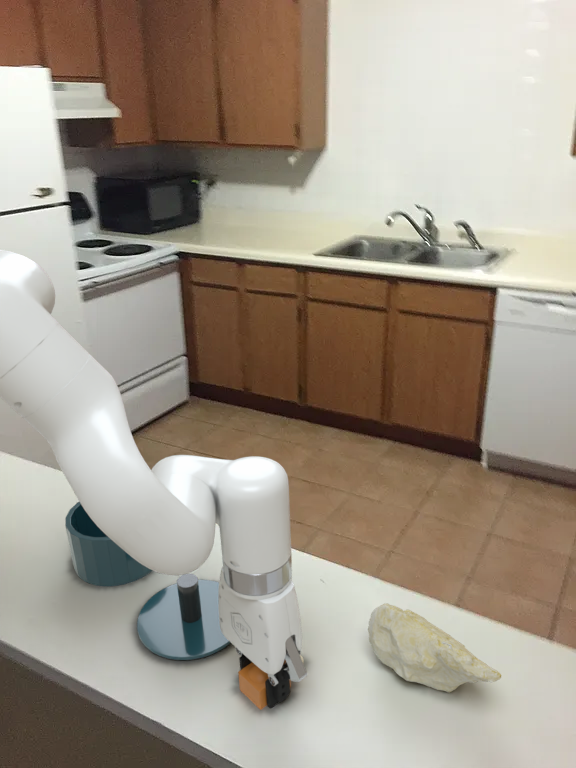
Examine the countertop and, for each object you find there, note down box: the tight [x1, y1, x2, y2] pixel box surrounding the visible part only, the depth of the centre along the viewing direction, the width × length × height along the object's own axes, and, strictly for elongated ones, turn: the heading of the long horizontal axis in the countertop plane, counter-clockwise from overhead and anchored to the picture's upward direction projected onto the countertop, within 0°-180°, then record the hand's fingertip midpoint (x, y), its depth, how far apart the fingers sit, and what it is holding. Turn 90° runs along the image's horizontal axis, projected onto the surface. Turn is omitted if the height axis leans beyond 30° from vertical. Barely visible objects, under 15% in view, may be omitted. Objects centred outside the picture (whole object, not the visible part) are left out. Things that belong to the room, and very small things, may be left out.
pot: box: [64, 501, 154, 587], centre depth 103 cm, size 14×14×8 cm
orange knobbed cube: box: [237, 654, 305, 711], centre depth 81 cm, size 8×4×4 cm, turn 132°
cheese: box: [367, 602, 502, 693], centre depth 81 cm, size 15×7×15 cm
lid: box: [136, 573, 232, 661], centre depth 90 cm, size 15×15×7 cm
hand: (265, 686), depth 80 cm, fingers closed on orange knobbed cube, 4 cm apart
